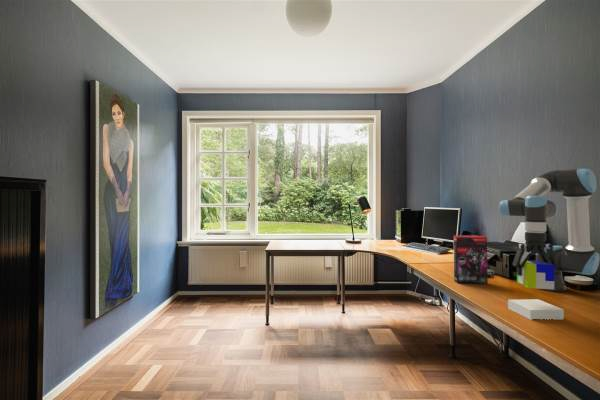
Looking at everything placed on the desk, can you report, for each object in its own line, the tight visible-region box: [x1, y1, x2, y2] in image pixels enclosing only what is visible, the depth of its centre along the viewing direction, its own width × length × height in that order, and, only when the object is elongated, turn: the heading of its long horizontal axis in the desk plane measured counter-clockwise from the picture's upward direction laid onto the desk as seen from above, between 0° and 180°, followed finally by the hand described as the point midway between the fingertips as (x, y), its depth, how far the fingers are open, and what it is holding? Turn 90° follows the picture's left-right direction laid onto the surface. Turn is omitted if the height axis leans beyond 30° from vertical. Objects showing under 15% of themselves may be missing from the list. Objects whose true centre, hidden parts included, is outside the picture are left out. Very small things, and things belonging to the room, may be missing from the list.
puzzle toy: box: [516, 259, 555, 290], centre depth 145 cm, size 10×10×10 cm
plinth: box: [507, 298, 565, 321], centre depth 145 cm, size 14×14×4 cm
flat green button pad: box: [487, 268, 495, 277], centre depth 221 cm, size 18×18×5 cm
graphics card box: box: [453, 235, 489, 285], centre depth 198 cm, size 17×7×27 cm, turn 83°
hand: (534, 283), depth 145 cm, fingers closed on puzzle toy, 11 cm apart
